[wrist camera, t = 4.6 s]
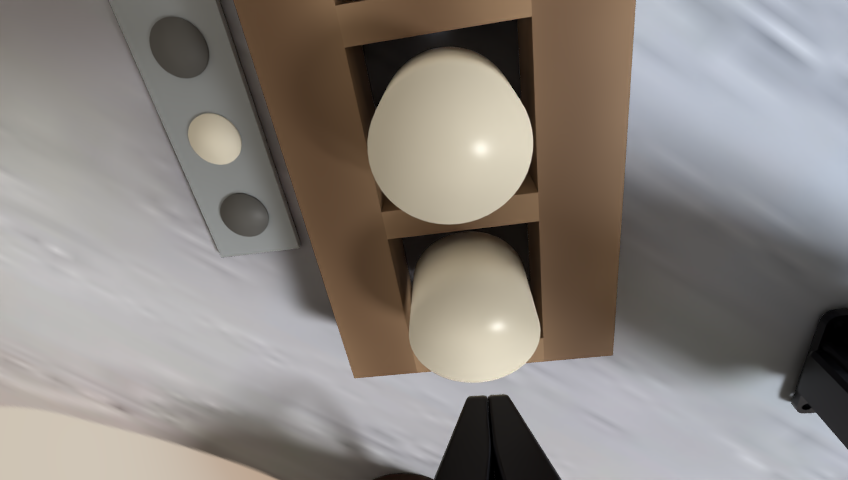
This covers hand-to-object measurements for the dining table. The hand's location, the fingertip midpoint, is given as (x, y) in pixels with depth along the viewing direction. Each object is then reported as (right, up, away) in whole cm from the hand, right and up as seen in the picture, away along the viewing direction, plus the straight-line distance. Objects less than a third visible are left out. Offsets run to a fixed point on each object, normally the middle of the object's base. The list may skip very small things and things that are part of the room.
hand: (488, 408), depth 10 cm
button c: (0, +2, +9) cm, 9 cm away
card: (-9, +8, +8) cm, 15 cm away
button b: (-1, +8, +5) cm, 9 cm away
